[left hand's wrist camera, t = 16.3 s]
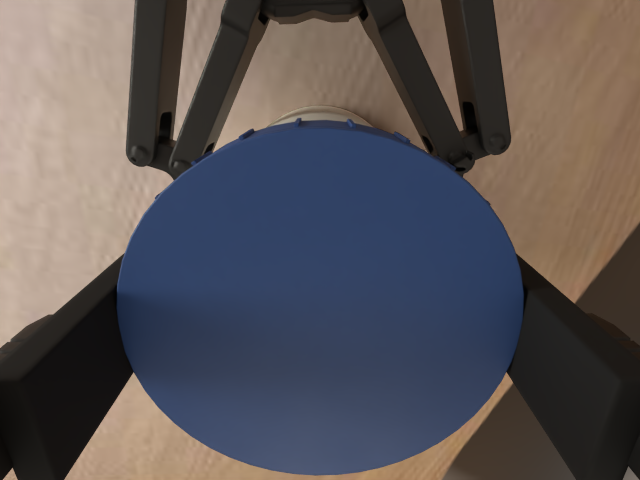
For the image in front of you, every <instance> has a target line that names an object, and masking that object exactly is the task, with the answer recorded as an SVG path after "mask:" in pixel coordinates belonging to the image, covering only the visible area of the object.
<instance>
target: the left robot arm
mask: <svg viewBox="0 0 640 480" xmlns="http://www.w3.org/2000/svg"><path fill="white" fill-rule="evenodd" d="M124 254H125V253H124ZM124 254H123V255H122V256H121V257H119V258H118V259H117V260H116V261H115V262H114V263H113V264H111V265H110V266H109V267H108V268H107V269H106V270H104V271H103V272H102V273H101V274H100V275H99V276H97V277H96V278H95V279H94V280H93V281H92V282H91V283H89V284H88V285H87V286H86V287H85V288H84V289H82V290H81V291H80V292H79V293H78V294H77V295H75V296H74V297H73V298H72V299H71V300H70V301H69V302H67V303H66V304H65V305H64V306H63V307H62V308H60V309H59V310H58V311H57V312H56V313H55V314H53V315H47V316H45V317H43V318H41V319H39V320H38V321H36V322H34V323H32V324H30V325H28V326H26V327H25V328H24V329H23V330H22V331H20V332H19V333H18V334H17V335H16V336H14V337H13V338H12V339H11V342H7V343H6V344H5V345H3V346H2V347H1V348H0V480H3V479H4V477H5V476H6V475H7V474H8V472H9V471H10V470H11V469H12V467H13V469H14V472H15V474H16V477H17V479H18V480H64V479H65V477H66V476H67V474H68V473H69V471H70V470H71V468H72V467H73V465H74V463H75V462H76V460H77V459H78V457H79V456H80V454H81V453H82V451H83V450H84V448H85V446H86V445H87V443H88V442H89V440H90V439H91V437H92V436H93V434H94V433H95V431H96V429H97V428H98V426H99V425H100V423H101V422H102V420H103V419H104V417H105V416H106V414H107V412H108V411H109V409H110V408H111V406H112V405H113V403H114V402H115V400H116V399H117V397H118V395H119V394H120V392H121V391H122V389H123V388H124V386H125V385H126V383H127V382H128V380H129V378H130V377H131V375H132V374H133V372H134V371H133V369H132V367H131V364H130V362H129V360H128V358H127V355H126V353H125V350H124V346H123V341H122V337H121V333H120V329H119V324H118V316H117V308H116V307H117V284H118V279H119V274H120V269H121V264H122V259H123V257H124ZM516 256H517V260H518V263H519V266H520V270H521V276H522V284H523V292H524V306H523V321H522V326H521V330H520V335H519V339H518V343H517V347H516V350H515V353H514V356H513V359H512V362H511V364H510V366H509V368H508V369H507V371H506V372H507V373H508V375H509V377H510V378H511V380H512V381H513V383H514V384H515V386H516V387H517V389H518V390H519V392H520V394H521V395H522V397H523V398H524V400H525V401H526V403H527V404H528V406H529V407H530V409H531V411H532V412H533V414H534V415H535V417H536V418H537V420H538V421H539V423H540V424H541V426H542V428H543V429H544V431H545V432H546V434H547V435H548V437H549V438H550V440H551V441H552V443H553V445H554V446H555V448H556V449H557V451H558V452H559V454H560V455H561V457H562V458H563V460H564V461H565V463H566V465H567V466H568V468H569V469H570V471H571V472H572V474H573V475H574V477H575V478H576V480H623V477H624V475H625V473H626V470H627V468H628V466H629V467H630V469H631V470H632V471H633V472H634V473H635V475H636V476H637V477H638V478H639V480H640V346H639V345H638V344H637V343H635V342H634V341H631V340H630V338H629V337H628V336H627V335H626V334H625V333H623V332H622V331H621V330H620V329H618V328H617V327H616V326H615V325H613V324H611V323H610V322H608V321H606V320H604V319H602V318H600V317H598V316H596V315H594V314H592V313H584V312H583V311H582V310H581V309H580V308H579V307H578V306H576V305H575V304H574V303H573V302H572V301H571V300H569V299H568V298H567V297H566V296H565V295H564V294H562V293H561V292H560V291H559V290H558V289H557V288H556V287H554V286H553V285H552V284H551V283H550V282H549V281H547V280H546V279H545V278H544V277H543V276H542V275H540V274H539V273H538V272H537V271H536V270H535V269H534V268H532V267H531V266H530V265H529V264H528V263H527V262H525V261H524V260H523V259H522V258H521V257H520V256H518V255H517V254H516Z"/></svg>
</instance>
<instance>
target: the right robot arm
mask: <svg viewBox="0 0 640 480" xmlns="http://www.w3.org/2000/svg"><path fill="white" fill-rule="evenodd" d="M441 4H442V9H443V15H444V21H445V26H446V32H447V38H448V43H449V49H450V55H451V60H452V66H453V72H454V78H455V83H456V89H457V95H458V100H459V106H460V112H461V117H462V123H463V129H464V130H463V131H460V132H459V130H458V128H457V126H456V123H455V121H454V119H453V117H452V115H451V113H450V111H449V108H448V106H447V104H446V102H445V100H444V98H443V95H442V93H441V91H440V89H439V87H438V85H437V83H436V80H435V78H434V76H433V74H432V72H431V70H430V67H429V65H428V63H427V61H426V59H425V57H424V54H423V52H422V50H421V48H420V46H419V44H418V42H417V39H416V37H415V35H414V33H413V31H412V29H411V26H410V24H409V22H408V20H407V17H406V12H405V7H404V4H403V1H402V0H226V2H225V4H224V7H223V10H222V14H221V24H220V27H219V30H218V33H217V35H216V38H215V41H214V43H213V46H212V49H211V51H210V54H209V57H208V59H207V62H206V65H205V67H204V70H203V72H202V75H201V78H200V80H199V83H198V86H197V88H196V91H195V94H194V96H193V99H192V102H191V104H190V107H189V109H188V112H187V115H186V117H185V120H184V123H183V125H182V128H181V131H180V133H179V136H178V138H177V141H174V140H173V133H174V124H175V114H176V105H177V95H178V86H179V76H180V66H181V57H182V47H183V38H184V28H185V19H186V9H187V0H135V10H134V26H133V42H132V59H131V75H130V91H129V107H128V124H127V140H126V155H127V157H128V159H129V161H130V162H132V163H133V164H134V165H136V166H140V167H144V166H150V167H153V168H156V169H160V170H163V171H165V172H167V173H168V174H169V175H170V176H171V177H172V178H173V180H175V179H177V178H178V177H179V176H180V175H181V174H182V173H184V172H185V171H187V170H188V169H189V168H191V167H192V166H193V165H192V164H191V162H193V161H194V160H196V159H198V158H199V157H201V156H202V155H204V154H206V153H207V152H209V151H211V152H212V153H213V150H214V148H215V145H216V143H217V141H218V138H219V136H220V133H221V131H222V129H223V126H224V124H225V121H226V119H227V117H228V114H229V112H230V109H231V107H232V105H233V102H234V100H235V97H236V95H237V93H238V90H239V88H240V85H241V83H242V81H243V78H244V76H245V74H246V71H247V69H248V66H249V64H250V62H251V59H252V57H253V54H254V52H255V50H256V47H257V45H258V44H259V42H260V41H261V39H262V37H263V35H264V33H265V30H266V28H267V26H268V23H269V21H270V19H272V20H274V21H277V22H278V23H279V24H297V23H300V22H303V21H306V20H308V19H311V18H317V19H321V20H324V21H328V22H348V21H349V19H351V18H354V17H355V16H358V18H359V20H360V22H361V24H362V26H363V28H364V30H365V32H366V33H367V35H368V37H369V38H370V39H371V40H372V42H373V44H374V46H375V48H376V50H377V52H378V54H379V56H380V58H381V60H382V62H383V64H384V66H385V68H386V70H387V72H388V74H389V76H390V78H391V80H392V82H393V84H394V86H395V88H396V90H397V92H398V94H399V95H400V97H401V99H402V101H403V103H404V105H405V107H406V109H407V111H408V113H409V115H410V117H411V119H412V121H413V123H414V125H415V127H416V129H417V131H418V133H419V135H420V137H421V139H422V141H423V143H424V145H425V147H426V149H427V151H428V153H429V154H430V155H432V156H433V157H435V156H438V157H440V158H441V159H443V160H445V161H446V162H448V163H449V164H451V165H453V166H454V167H455V168H456V170H455V172H456V173H457V174H459V175H460V176H461V177H463V174H464V173H467V172H468V171H469V170H470V169H472V167H473V165H474V163H475V160H477V159H479V158H482V157H485V156H487V155H490V154H492V155H499V154H501V153H503V152H505V151H506V150H507V149H508V147H509V145H510V143H511V133H510V126H509V118H508V110H507V103H506V95H505V88H504V80H503V73H502V65H501V58H500V50H499V42H498V35H497V27H496V20H495V12H494V5H493V0H441Z"/></svg>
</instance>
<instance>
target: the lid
mask: <svg viewBox="0 0 640 480" xmlns="http://www.w3.org/2000/svg"><path fill="white" fill-rule="evenodd" d="M191 164H192V165H193V166H192V167H191V168H189V169H188V170H187V171H185V172H184V173H182V174H181V175H180V176H179V177H178V178H177V179H175V180H174V181H173V182H172V183H171V184H170V185H169V186H168V187H167V188H166V189H165V190H163V191H162V192H161V193H160V194H158V195H157V196H156V197H155V199H156V200H155V201H154V202H153V203H152V205H151V206H150V207H149V208H148V210H147V211H146V212H145V213H144V215H143V216H142V218H141V220H140V222H139V224H138V225H137V227H136V229H135V231H134V232H133V234H132V236H131V238H130V241H129V243H128V246H127V249H126V251H125V254H124V257H123V259H122V264H121V269H120V274H119V279H118V284H117V307H116V308H117V316H118V324H119V329H120V333H121V337H122V341H123V346H124V350H125V353H126V355H127V358H128V360H129V362H130V364H131V367H132V369H133V371H134V373H135V375H136V376H137V378H138V380H139V381H140V383H141V385H142V386H143V388H144V390H145V391H146V392H147V394H148V395H149V396H150V397H151V399H152V400H153V401H154V402H155V404H156V405H157V406H158V407H159V408H160V409H161V410H162V411H163V412H164V413H165V414H166V415H167V416H168V417H169V418H170V419H171V420H172V421H173V422H174V423H175V424H176V425H177V426H179V427H180V428H181V429H183V430H184V431H185V432H186V433H188V434H189V435H190V436H192V437H193V438H195V439H197V440H198V441H200V442H201V443H203V444H205V445H206V446H208V447H210V448H211V449H213V450H216V451H218V452H220V453H222V454H224V455H226V456H228V457H230V458H233V459H236V460H238V461H241V462H244V463H247V464H249V465H253V466H257V467H261V468H264V469H268V470H272V471H279V472H285V473H291V474H303V475H339V474H348V473H357V472H362V471H367V470H372V469H376V468H381V467H384V466H387V465H390V464H394V463H397V462H400V461H403V460H405V459H407V458H410V457H412V456H414V455H417V454H419V453H421V452H423V451H425V450H427V449H429V448H430V447H432V446H434V445H436V444H438V443H439V442H441V441H443V440H444V439H445V438H447V437H448V436H450V435H451V434H453V433H454V432H455V431H457V430H458V429H459V428H461V427H462V426H463V425H464V424H465V423H466V422H467V421H468V420H470V419H471V418H472V417H473V416H474V415H475V414H476V413H477V412H478V411H479V410H480V409H481V407H482V406H483V405H484V404H485V403H486V402H487V401H488V400H489V398H490V397H491V396H492V394H493V393H494V391H495V390H496V388H497V387H498V385H499V384H500V383H501V381H502V379H503V377H504V375H505V373H506V371H507V369H508V368H509V366H510V364H511V362H512V359H513V356H514V353H515V350H516V347H517V343H518V339H519V335H520V330H521V326H522V321H523V306H524V292H523V284H522V276H521V270H520V266H519V263H518V260H517V256H516V253H515V249H514V247H513V244H512V242H511V240H510V238H509V236H508V234H507V232H506V230H505V228H504V226H503V224H502V222H501V221H500V219H499V218H498V217H497V215H496V214H495V212H494V211H493V209H492V208H491V206H490V203H489V202H488V201H486V200H485V199H484V198H483V197H482V196H481V195H480V194H479V193H478V192H477V191H476V189H475V188H474V187H473V186H472V185H471V184H470V183H469V182H468V181H466V180H465V179H464V178H463V177H461V176H460V175H459V174H457V173H456V172H455V170H456V168H455V167H454V166H453V165H451V164H449V163H448V162H446V161H445V160H443V159H441V158H440V157H438V156H435V157H433V156H432V155H430V154H429V153H427V152H425V151H424V150H422V149H420V148H419V147H417V146H415V145H413V144H412V143H410V140H409V139H407V138H406V137H404V136H402V135H401V134H399V133H397V132H394V135H393V134H391V133H388V132H385V131H383V130H380V129H378V128H374V127H369V126H365V125H361V124H357V123H354V122H353V121H352V120H351V119H347V122H343V121H333V120H308V121H302V119H301V118H297V119H296V121H295V122H290V123H284V124H279V125H273V126H270V127H267V128H264V129H261V130H258V131H255V132H254V130H253V129H250V130H248V131H247V132H245V133H244V134H242V135H241V136H239V138H238V139H236V140H234V141H232V142H230V143H228V144H226V145H225V146H223V147H221V148H220V149H218V150H217V151H215V152H214V153H212V152H211V151H209V152H207V153H206V154H204V155H202V156H201V157H199V158H198V159H196V160H194V161H193V162H191Z"/></svg>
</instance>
